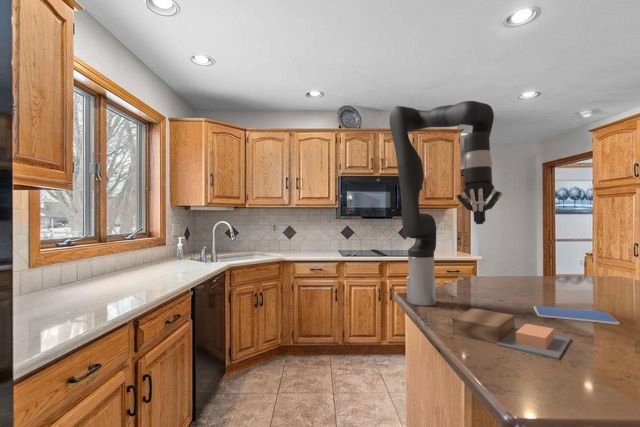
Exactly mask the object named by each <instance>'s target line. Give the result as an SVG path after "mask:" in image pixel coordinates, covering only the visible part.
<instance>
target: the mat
mask: <svg viewBox="0 0 640 427" xmlns="http://www.w3.org/2000/svg"><path fill="white" fill-rule="evenodd" d="M520 328H521V327H515V329H514V330H512V331H511V332H510V333H509V334H508V335H506V336H505V337H504V338H503V339H502V340H501V341H499V342H498V343H497V344H496V345H497V346H499V347H503V348H507V349H511V350H516V351H519V352H520V351H521V352H524V353H529V354H533V355H537V356H542V357H546V358H550V359H555V360H559V359H560V358H561V357H562V355H563V354H564V352H565V350H566V349H567V347H568V345H569V343H570V342H571V340H572V337H568V336H563V335H558V334H554V340H553V341H552V343H551V344H550V345H549V346H548V348H547V349H542V348H537V347H533V346H528V345H524V344H519V343H516V332H517V331H518V330H519V329H520Z"/></svg>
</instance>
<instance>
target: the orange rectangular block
mask: <svg viewBox="0 0 640 427" xmlns="http://www.w3.org/2000/svg"><path fill="white" fill-rule="evenodd" d="M519 328H520V329H519V330H518V331H517V332H516V343H519V344H524V345H528V346H533V347H537V348H542V349H547V348H548V346H549V345H550V344H551V343H552V341H553V340H554V335H555V329H554V328H552V327H546V326H541V325H535V324H529V323H525V324H523V325H522V326H521V327H519Z"/></svg>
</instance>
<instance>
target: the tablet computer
mask: <svg viewBox="0 0 640 427" xmlns="http://www.w3.org/2000/svg"><path fill="white" fill-rule="evenodd" d="M533 309H534V311H535V314H536V315H537V317H539V318H540V317H541V318H548V319H558V320H568V321H569V320H570V321H577V322H578V321H579V322H589V323H598V324H605V325H617V326H618V325H621V323H620V322H619V321H618V320H617V319H615V317H613V316H612V315H611V314H609V313H608V312H606V311H602V310H601V311H600V310H588V309H587V310H586V309H577V308H568V307H567V308H566V307H565V308H564V307H554V306H553V307H552V306H542V305H534V306H533Z"/></svg>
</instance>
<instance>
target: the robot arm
mask: <svg viewBox="0 0 640 427" xmlns="http://www.w3.org/2000/svg"><path fill="white" fill-rule="evenodd" d="M494 119H495V116H494V109H493V108H492V106H491V105H490V104H488V103H484V102H480V101H476V100H464V101H461V102H458V103H456V104H449V105H448V104H447V105H441V106H437V107H434V108H432V109H429V110H422V109H416V108H413V107H408V106H402V105H401V106H400V105H399V106H398V105H397V106H395V107H393V108H392V109H391V111H390V114H389V127H390V131H391V132H390V133H391V136H392V140H393V145H394V151H395V152H394V153H395V157H396V158H395V159H396V166H397V174H398V181H399V188H400V199H401V220H402V221H401V223H402V229H403V232H404V234H405V235H406V237H408V238H409V239H415V240H414V241H415V242H414V243H413V245H412V246H411V247H409V248H408V250H407V257H408V258H407V260H408V261H407V264H408V275H407V276H406V299H407V300H406V302H407V303H409V304H411V305H413V306H414V305H415V306H420V307H421V306H422V307H423V306H424V307H427V306H428V307H429V306H433V305H436V301H437V300H436V299H437V298H436V297H437V296H436V277H435V276H436V274H435V251H436V247H437V222H436V220H435V218H434V216H432V215H431V214H429V213H421V212H420V206H419V196H420V193H421V190H422V187H423V184H424V182H425V173H424V166H423V161H422V159H421V157H420V155H419V153H418V152H417V150H416V149H415V147H414V146H413V144H412V142H411V140H410V137H409V134H408V133H412V132H416V131H420V130H423V129H430V128H453V127H454V128H455V127H458V126H460V125H461V126H464V125H465V126H471V127H472V131H471V132H470V133H467V134H466V135H465V136H464V139H463V147H464V148H463V152H464V155H463V156H464V157H463V170H464V171H463V175H464V187H463V191H461V193H460V194H457V195H456V198H457V200H458V201H459V202H460V203H461V204H462V205H463V206H464V207H465V208H466V210H468V211H470V212H472V213H473V222H474V223H475V224H476V225H484V223H485V222H486V211H488V210H491V209H493V207H494V206H495V205H496V204H497V202H498V201H499V200H500V199H501V197H502V196H503V192H502V191H498V190H497V189H495V185H494V184H493V171H492V169H493V168H492V166H493V162H492V155H491V145H490V143H491V142H490V137H491V133H492V128H493V124H494ZM490 196H491V198H490V200H488V199H489V197H490ZM467 198H469V199H470V201H471V202H470V201H469V200H468V199H467ZM487 200H488V201H487Z"/></svg>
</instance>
